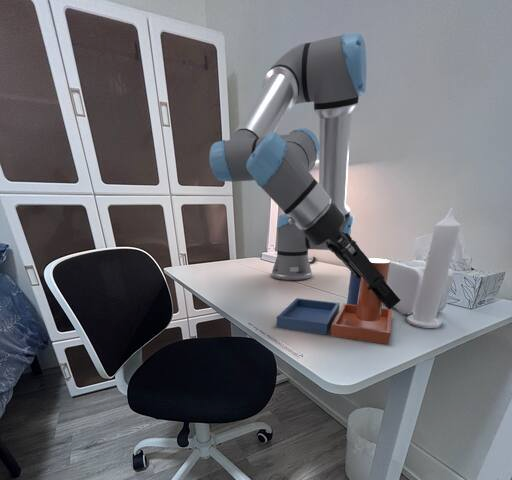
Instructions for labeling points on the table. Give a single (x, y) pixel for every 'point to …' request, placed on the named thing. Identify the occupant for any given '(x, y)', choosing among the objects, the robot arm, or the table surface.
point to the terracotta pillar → (371, 295)
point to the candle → (436, 272)
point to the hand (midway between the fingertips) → (388, 300)
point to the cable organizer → (412, 284)
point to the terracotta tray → (362, 325)
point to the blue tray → (308, 316)
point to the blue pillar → (353, 290)
